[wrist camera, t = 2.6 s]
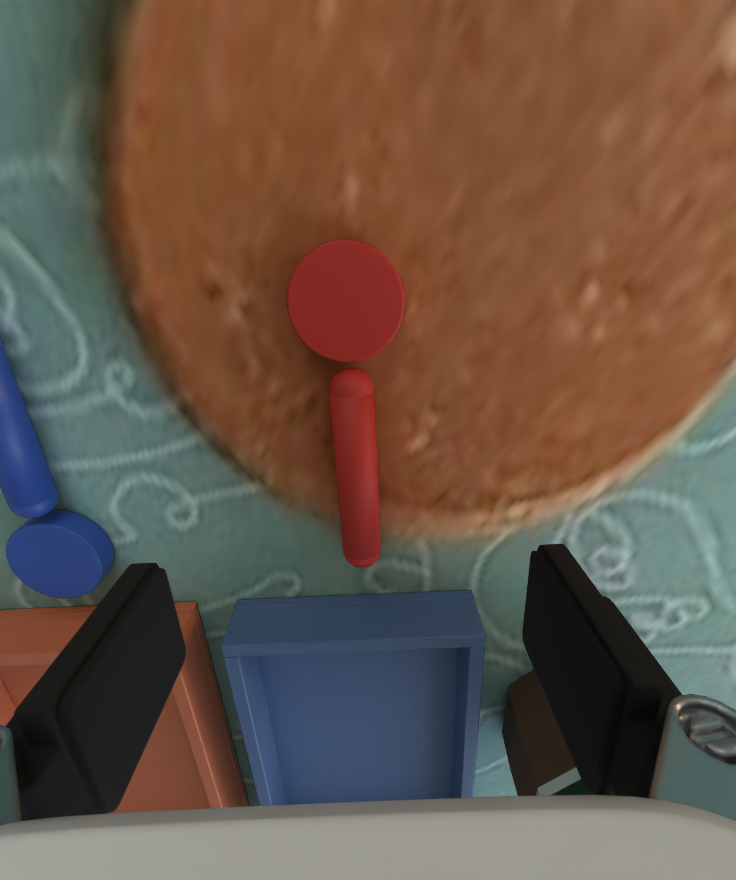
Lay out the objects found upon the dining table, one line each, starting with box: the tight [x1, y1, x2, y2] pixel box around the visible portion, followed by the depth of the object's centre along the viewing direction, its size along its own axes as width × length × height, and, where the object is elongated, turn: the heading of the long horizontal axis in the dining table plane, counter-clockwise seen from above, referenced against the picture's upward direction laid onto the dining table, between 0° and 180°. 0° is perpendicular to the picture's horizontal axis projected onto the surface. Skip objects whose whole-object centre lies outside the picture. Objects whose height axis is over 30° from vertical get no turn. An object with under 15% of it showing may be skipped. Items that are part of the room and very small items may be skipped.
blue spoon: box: [0, 340, 114, 598], centre depth 16 cm, size 12×4×2 cm, turn 3°
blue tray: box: [221, 590, 486, 806], centre depth 21 cm, size 17×10×2 cm, turn 3°
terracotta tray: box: [0, 602, 250, 813], centre depth 21 cm, size 17×10×2 cm, turn 3°
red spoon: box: [287, 239, 405, 568], centre depth 15 cm, size 12×4×2 cm, turn 3°
